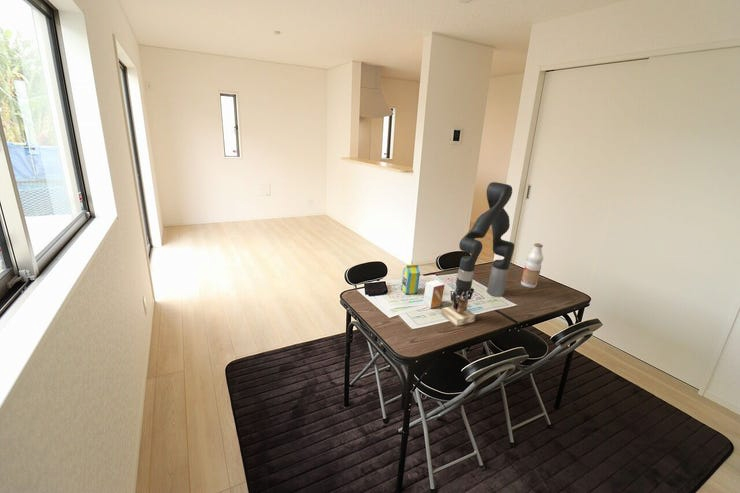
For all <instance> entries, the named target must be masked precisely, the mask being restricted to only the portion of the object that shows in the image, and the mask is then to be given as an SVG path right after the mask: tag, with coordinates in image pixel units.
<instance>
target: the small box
mask: <svg viewBox="0 0 740 493" xmlns="http://www.w3.org/2000/svg"><path fill="white" fill-rule="evenodd" d="M444 291H445V283H443V282H442V281H439V280H438V279H436V280H431V281H426V282H425V287H424V292H423V293H424V295H423V300H422V305H424V306H426V307H428V308H429V309H435V308H437V307H441V306H442V303H443V296H444Z"/></svg>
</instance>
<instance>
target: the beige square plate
mask: <svg viewBox="0 0 740 493" xmlns="http://www.w3.org/2000/svg"><path fill="white" fill-rule="evenodd" d="M440 315H441V316H442V317H444V318H445V319H446V320H448V321H449V322H450V323H452V324H453V325H454V326H456V327H458V326H462V325H467V324H470V323H473V322H475V320H476V314H475V313H473V312H471V311H470V310H469V309H466V311H462V312H458V311H456V310H455V309H453V308H452V305H450V306H447V307H442V308H441V312H440Z"/></svg>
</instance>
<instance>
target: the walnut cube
mask: <svg viewBox="0 0 740 493" xmlns="http://www.w3.org/2000/svg"><path fill="white" fill-rule="evenodd" d="M456 300H457V299H456ZM468 303H469V300H468V301H466V300H465V299H463V297H462V298H461V299H460V300H459V302H458V308H457V310H456V311H458V312H462V311H466V309H467V308H468ZM453 305H454V302H452V305H451V306H452V308H453ZM453 309H454V308H453ZM467 310H468V309H467Z"/></svg>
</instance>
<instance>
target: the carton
mask: <svg viewBox="0 0 740 493" xmlns="http://www.w3.org/2000/svg"><path fill="white" fill-rule="evenodd" d="M420 275H421V272H420V269H419V264H413V260H410V264H406V267H404V268H403V272H402V280H401V288H400V289H401V291H402V292H403V294H404V295H407V296H408V295H418V290H419V284H420V283H419V282H420Z"/></svg>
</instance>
